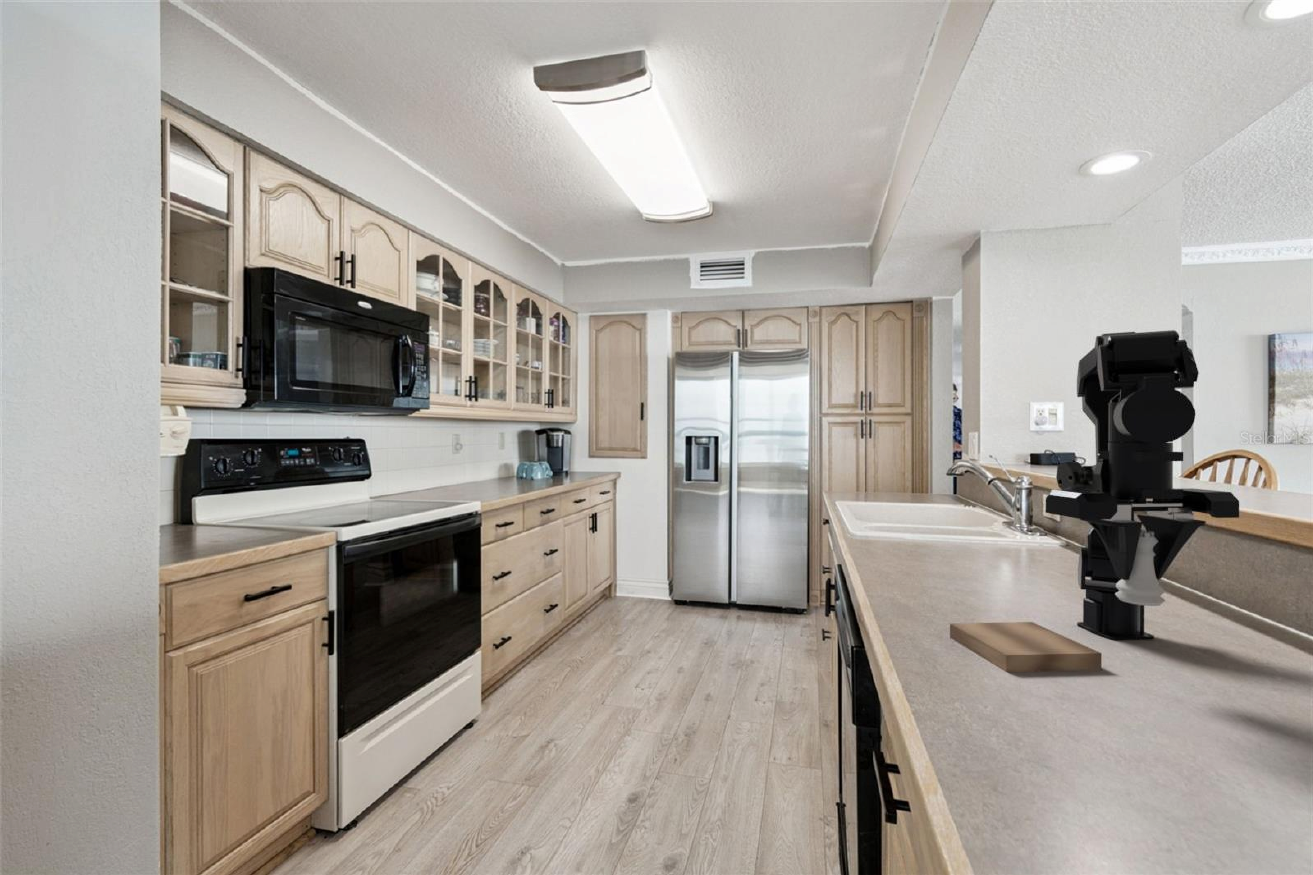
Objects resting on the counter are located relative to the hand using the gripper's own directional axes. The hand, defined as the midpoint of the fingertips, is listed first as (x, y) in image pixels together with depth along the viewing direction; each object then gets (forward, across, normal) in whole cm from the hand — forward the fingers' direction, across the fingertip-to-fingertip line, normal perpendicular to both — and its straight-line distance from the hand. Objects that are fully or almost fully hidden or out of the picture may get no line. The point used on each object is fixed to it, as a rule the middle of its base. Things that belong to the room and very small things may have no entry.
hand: (1139, 578), depth 67 cm
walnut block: (+12, +7, -10) cm, 17 cm away
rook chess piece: (+3, 0, 0) cm, 3 cm away
